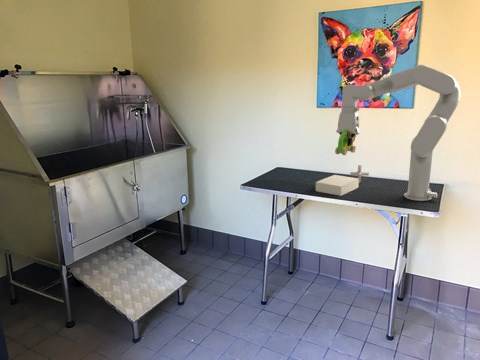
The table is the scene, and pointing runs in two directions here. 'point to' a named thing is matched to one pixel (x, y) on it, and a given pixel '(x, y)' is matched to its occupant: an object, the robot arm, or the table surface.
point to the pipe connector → (359, 173)
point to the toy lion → (345, 143)
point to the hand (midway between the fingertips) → (346, 145)
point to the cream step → (337, 185)
